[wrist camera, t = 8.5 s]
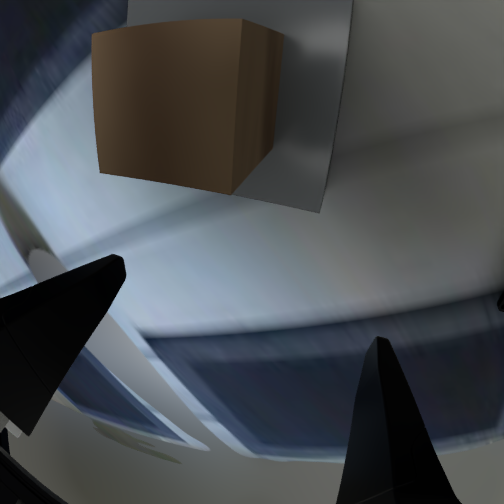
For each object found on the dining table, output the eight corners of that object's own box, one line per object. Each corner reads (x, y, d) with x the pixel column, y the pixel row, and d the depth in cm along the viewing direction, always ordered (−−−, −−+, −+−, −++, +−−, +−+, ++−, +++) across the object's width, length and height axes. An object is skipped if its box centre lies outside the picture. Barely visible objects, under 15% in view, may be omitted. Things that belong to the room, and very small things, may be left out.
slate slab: (353, 0, 12) (353, -12, 10) (324, 192, 19) (319, 213, 17) (157, -3, 14) (128, -7, 12) (155, 161, 22) (131, 176, 19)
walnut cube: (284, 34, 12) (242, 18, 7) (272, 148, 16) (231, 195, 11) (171, 33, 13) (91, 33, 9) (169, 135, 17) (99, 173, 12)
